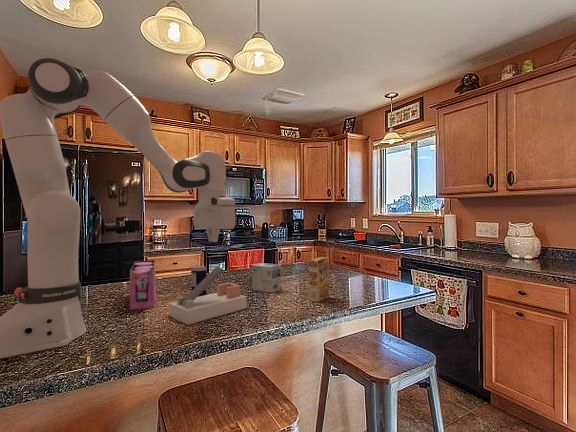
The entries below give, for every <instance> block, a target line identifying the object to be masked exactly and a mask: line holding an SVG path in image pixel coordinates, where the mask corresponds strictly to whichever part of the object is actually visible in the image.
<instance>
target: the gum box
mask: <svg viewBox="0 0 576 432" xmlns="http://www.w3.org/2000/svg"><path fill="white" fill-rule="evenodd" d="M156 291H157V289H156V260H155V259H154V260H153V259H151V260H137V261H136V260H135V261H134V262H133V265H132V267H131V268H130V270H129V311H130V310H140V309H141V310H142V309H150V308H154V307H155V302H156V294H157V293H156Z"/></svg>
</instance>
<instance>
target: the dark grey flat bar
mask: <svg viewBox="0 0 576 432" xmlns="http://www.w3.org/2000/svg"><path fill="white" fill-rule="evenodd" d="M223 271H224V270H223V268H221V267H218V266H217V267H214V269H212V270H211V272H210V273H209V274H207V276H206V277H205V278H204V279H203V280H202V281H201V282H200V283H199V284H198V285H197V286H196V287H195V288H194V289H193V290H191V291H190V292H189V293H188V294H187V295H186V296H184V297H185V298H184V299H183V300H182V301H180V304H181V305H184V306H186V301H188V300H195V299H196V298H197V297H198V296H199V295H200V294H201V293H202V292H203V291H204V290H205V288H206V287H207V288H208V286H210V285H211V283H213V282H214V281H215V280H216V279H217V277H219V276H220V274H222V272H223Z"/></svg>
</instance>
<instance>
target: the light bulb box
mask: <svg viewBox="0 0 576 432" xmlns="http://www.w3.org/2000/svg"><path fill="white" fill-rule="evenodd" d="M251 265H252V267H251V268H252V269H251V270H252V271H251V274H252V276H251V277H252V291H259V292H263V293H264V292H266V293H272V294H273V293H276V292H278V291H281V290H282V265H281V264H274V263H264V262H259V263H254V264H251Z"/></svg>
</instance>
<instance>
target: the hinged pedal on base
mask: <svg viewBox="0 0 576 432" xmlns="http://www.w3.org/2000/svg"><path fill="white" fill-rule="evenodd" d="M185 297H186V296H177V297H176V301H172V302H169V303H168V316H169V317H171V318H173V319H175V320H177V321H179V322H182V323H183V324H186V325H191V324H195V323H198V322H199V323H200V322H202V321H207V320H209V319H212V318H217V317H220V316H223V315H228V314H230V313H234V312H235V313H236V312H238V311H241V310H244V309H247V296H246V295H242V294H241V284H240V285H239V284H236V283H233V282H223V283H220V284H216V292H214V293H210V294H207V295H204V296H200V297H197V298H196V299H195V300H188V301H186V306H184V305H181V304H180V301H182V300H183V299H184V298H185Z"/></svg>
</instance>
